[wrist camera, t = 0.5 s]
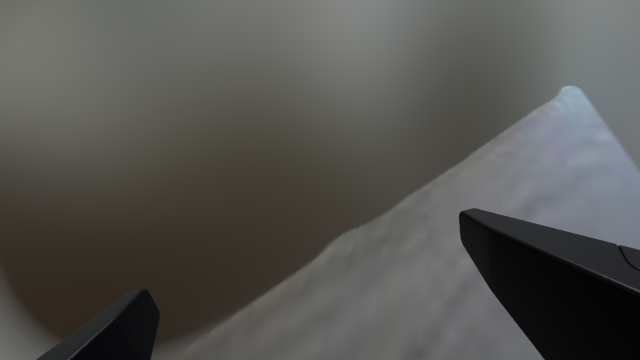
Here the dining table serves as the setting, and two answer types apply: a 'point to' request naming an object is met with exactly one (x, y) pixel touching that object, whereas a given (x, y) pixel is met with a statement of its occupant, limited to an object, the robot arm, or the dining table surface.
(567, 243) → the robot arm
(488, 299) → the dining table surface
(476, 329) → the dining table surface
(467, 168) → the dining table surface
